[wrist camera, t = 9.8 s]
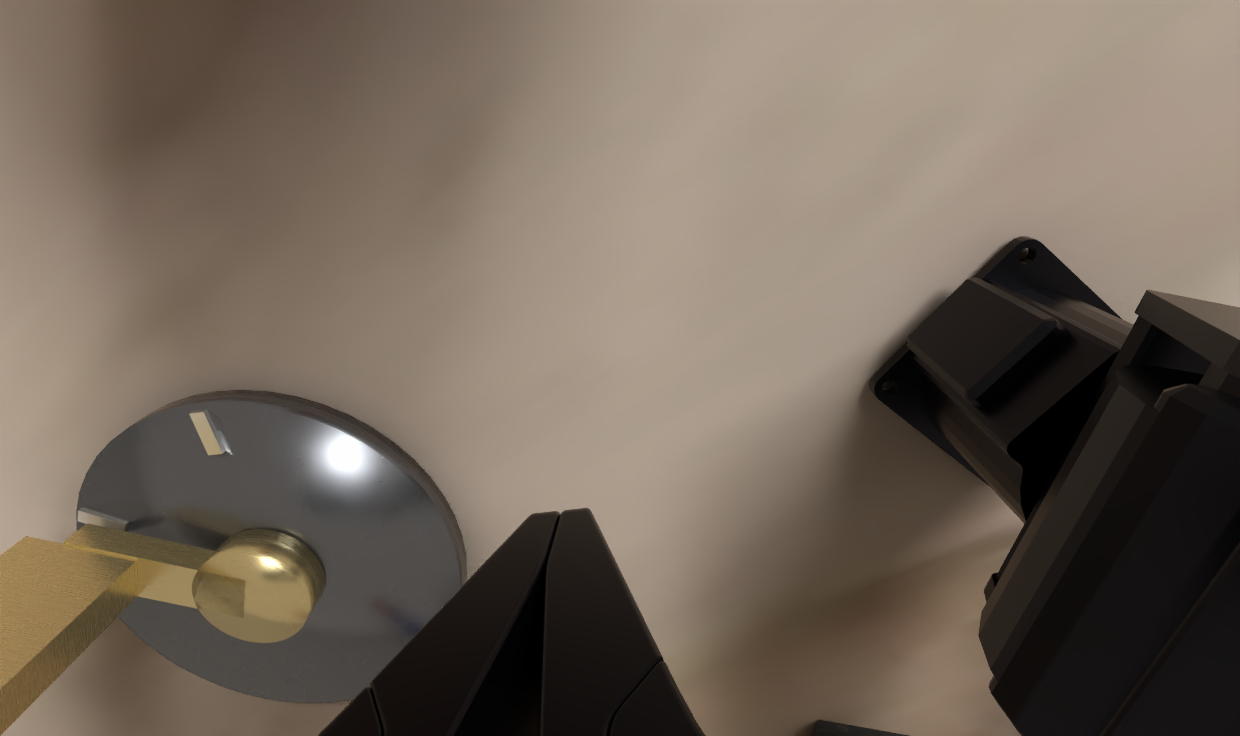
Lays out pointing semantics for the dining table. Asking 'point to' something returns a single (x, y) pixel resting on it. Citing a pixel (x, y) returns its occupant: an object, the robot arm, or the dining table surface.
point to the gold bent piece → (140, 595)
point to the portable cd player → (846, 730)
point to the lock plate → (293, 505)
